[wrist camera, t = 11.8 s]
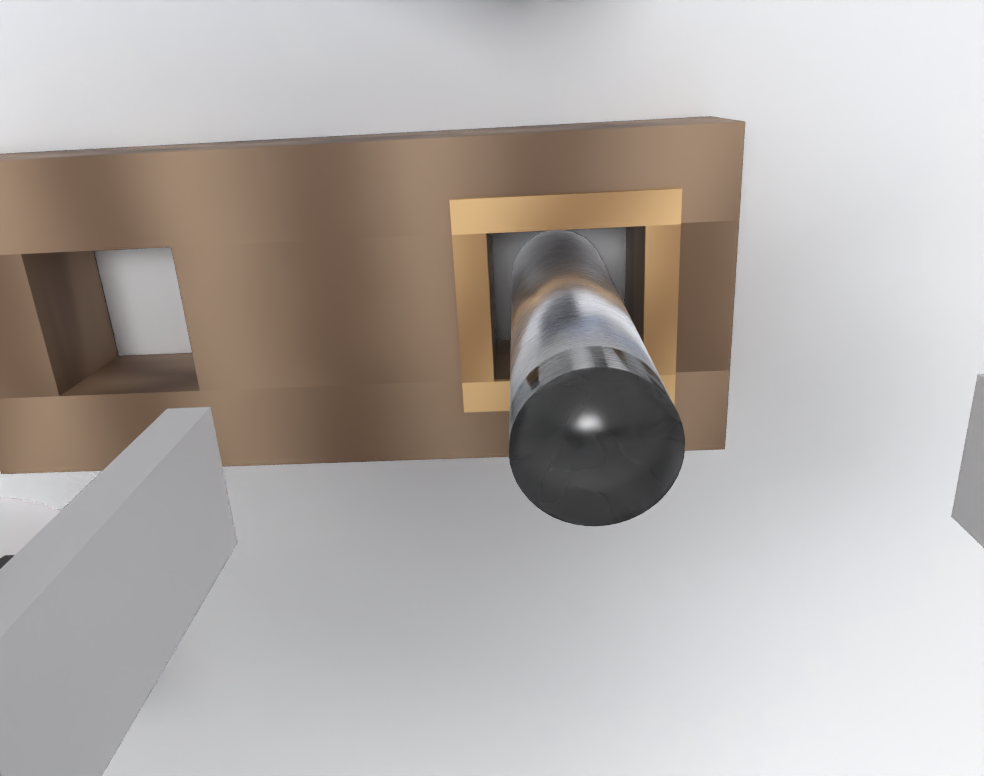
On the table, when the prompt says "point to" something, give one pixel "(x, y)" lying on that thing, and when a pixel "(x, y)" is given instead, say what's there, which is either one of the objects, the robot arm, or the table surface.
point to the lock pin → (584, 391)
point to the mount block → (349, 284)
